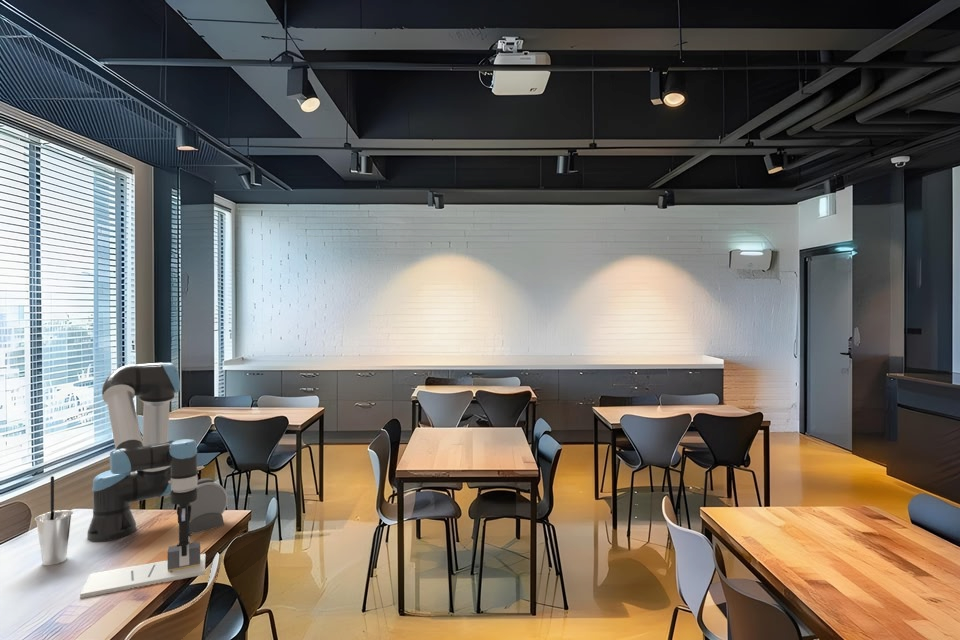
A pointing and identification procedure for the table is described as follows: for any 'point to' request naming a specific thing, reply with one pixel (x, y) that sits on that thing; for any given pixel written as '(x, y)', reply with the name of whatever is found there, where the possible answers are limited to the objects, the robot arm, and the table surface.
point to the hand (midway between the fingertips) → (184, 561)
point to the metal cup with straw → (54, 533)
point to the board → (137, 577)
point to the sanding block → (174, 556)
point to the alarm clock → (207, 506)
